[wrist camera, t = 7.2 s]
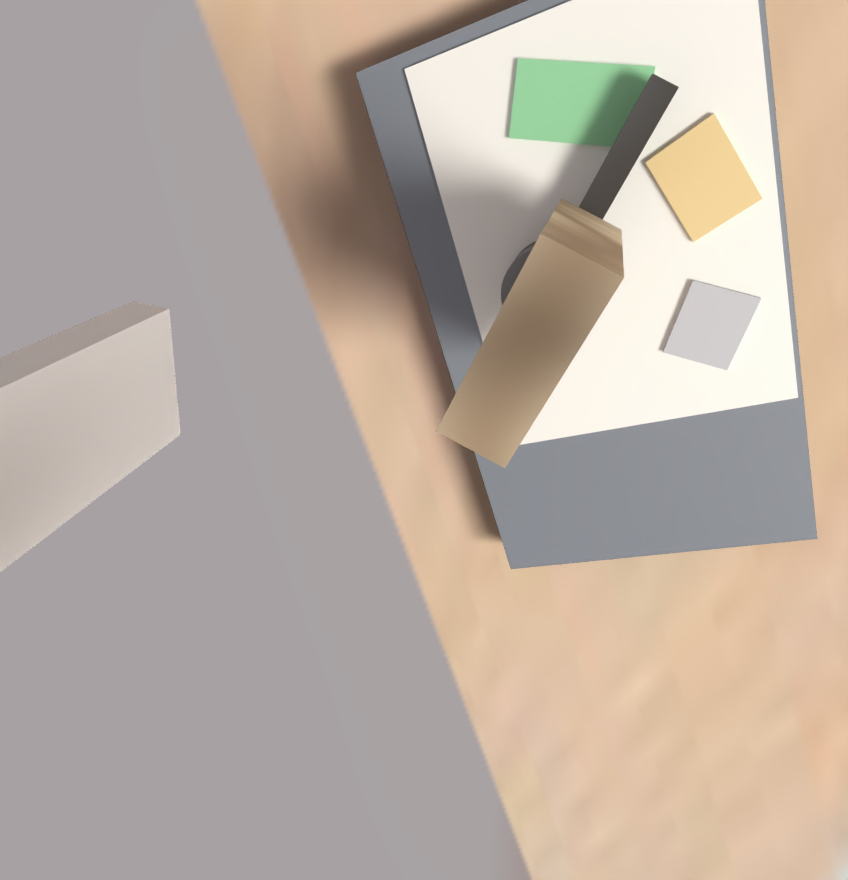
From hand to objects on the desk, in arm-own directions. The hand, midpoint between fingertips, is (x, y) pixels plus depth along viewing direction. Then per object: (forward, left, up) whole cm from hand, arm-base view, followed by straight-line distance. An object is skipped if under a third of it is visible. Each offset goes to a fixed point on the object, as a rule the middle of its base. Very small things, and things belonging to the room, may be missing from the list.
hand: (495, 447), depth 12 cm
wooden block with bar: (-2, -1, -15) cm, 15 cm away
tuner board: (0, +3, -17) cm, 17 cm away
